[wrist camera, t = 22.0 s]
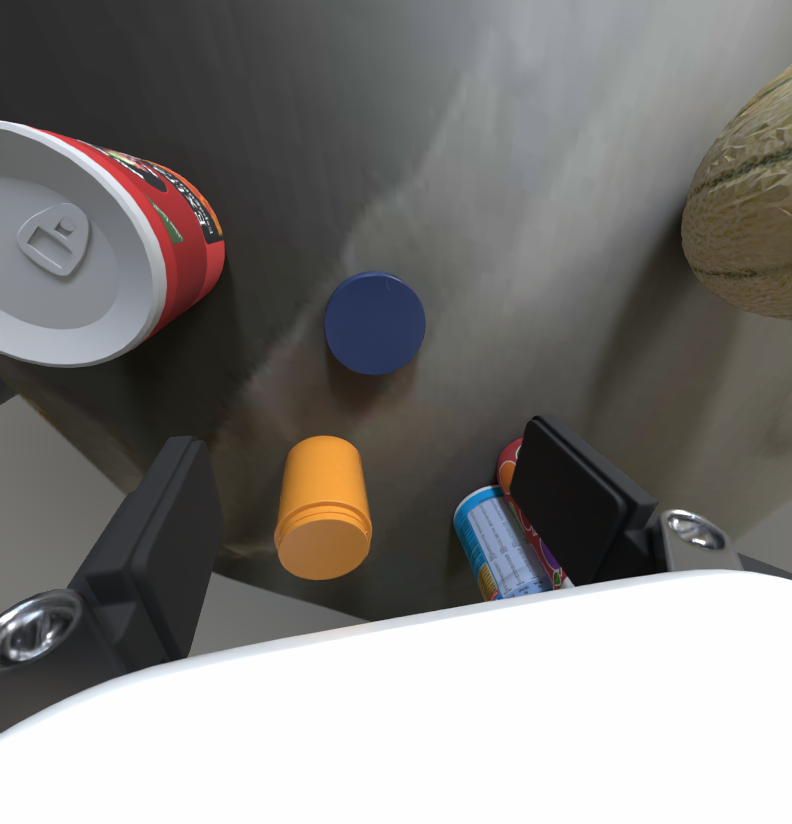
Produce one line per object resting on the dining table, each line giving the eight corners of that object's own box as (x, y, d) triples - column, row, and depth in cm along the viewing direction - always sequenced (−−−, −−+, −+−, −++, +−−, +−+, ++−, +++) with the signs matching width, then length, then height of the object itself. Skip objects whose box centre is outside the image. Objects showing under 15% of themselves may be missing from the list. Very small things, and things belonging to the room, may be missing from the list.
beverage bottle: (493, 468, 35) (650, 713, 18) (538, 502, 39) (702, 730, 22) (434, 519, 38) (525, 778, 21) (482, 546, 41) (592, 783, 25)
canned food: (248, 217, 22) (192, 221, 12) (200, 327, 24) (122, 402, 15) (104, 123, 18) (-123, 32, 9) (66, 262, 21) (-141, 304, 12)
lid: (412, 371, 29) (416, 378, 27) (322, 366, 27) (322, 373, 26) (428, 277, 25) (434, 281, 24) (326, 265, 24) (326, 268, 22)
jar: (300, 503, 33) (293, 594, 25) (271, 448, 30) (254, 533, 22) (369, 483, 34) (384, 566, 26) (349, 425, 30) (360, 502, 22)
